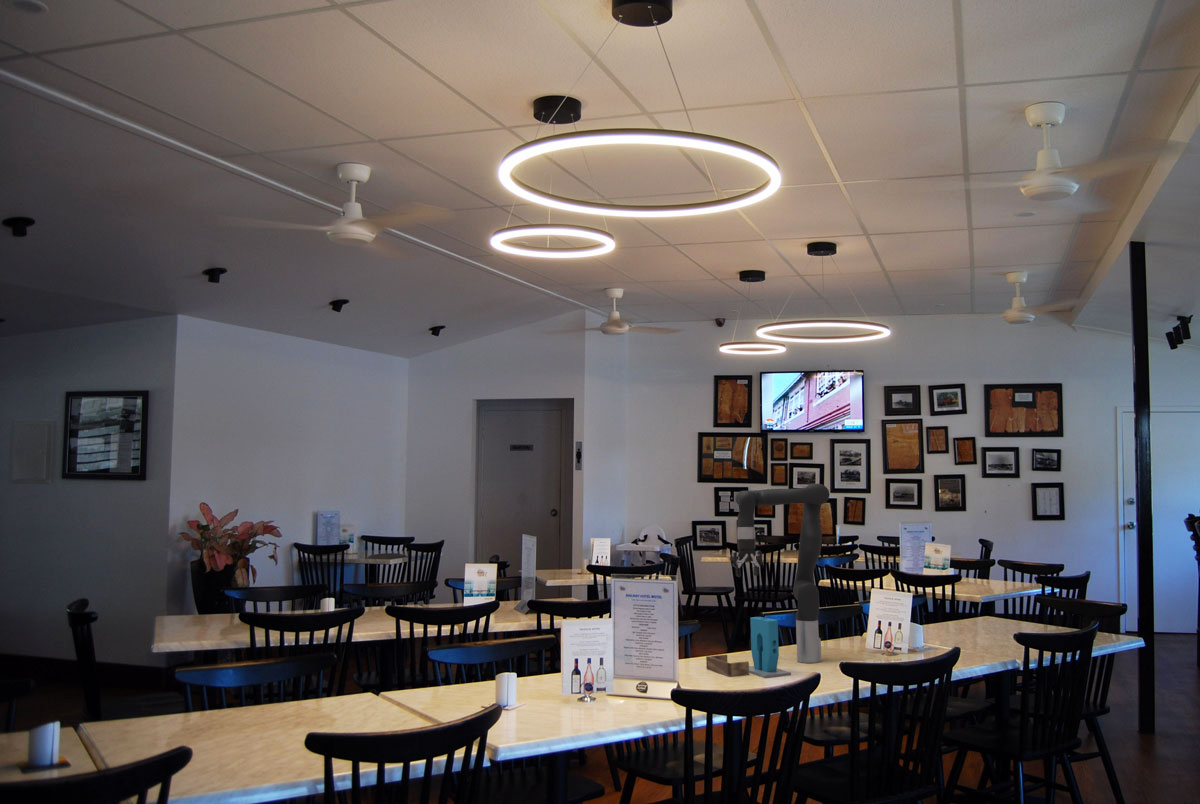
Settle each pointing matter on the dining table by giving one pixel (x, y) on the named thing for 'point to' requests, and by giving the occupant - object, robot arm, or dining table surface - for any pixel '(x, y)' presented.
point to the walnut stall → (726, 666)
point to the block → (764, 643)
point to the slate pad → (768, 673)
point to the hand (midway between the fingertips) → (747, 576)
